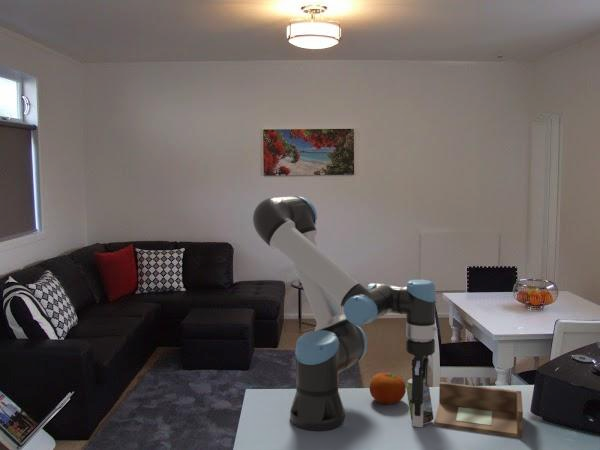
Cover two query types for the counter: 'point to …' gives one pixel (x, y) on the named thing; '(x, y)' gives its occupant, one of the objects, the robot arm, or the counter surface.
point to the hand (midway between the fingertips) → (419, 420)
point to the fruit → (387, 388)
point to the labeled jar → (426, 401)
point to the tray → (480, 409)
